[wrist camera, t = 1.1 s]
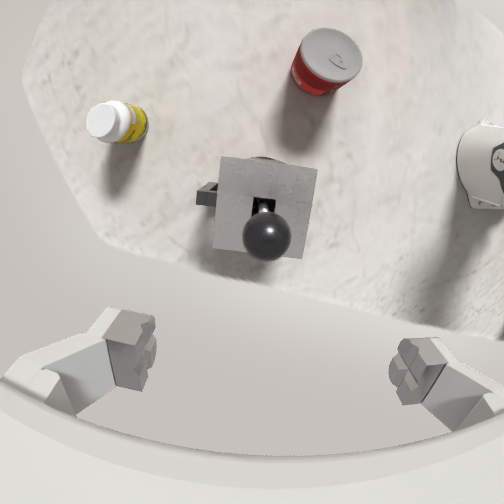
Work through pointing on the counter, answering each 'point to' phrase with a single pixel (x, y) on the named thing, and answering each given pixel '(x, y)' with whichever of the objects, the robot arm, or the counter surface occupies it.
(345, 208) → the counter surface
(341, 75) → the canned food
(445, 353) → the robot arm
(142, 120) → the pill bottle
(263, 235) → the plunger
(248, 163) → the cafetiere
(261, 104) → the counter surface
